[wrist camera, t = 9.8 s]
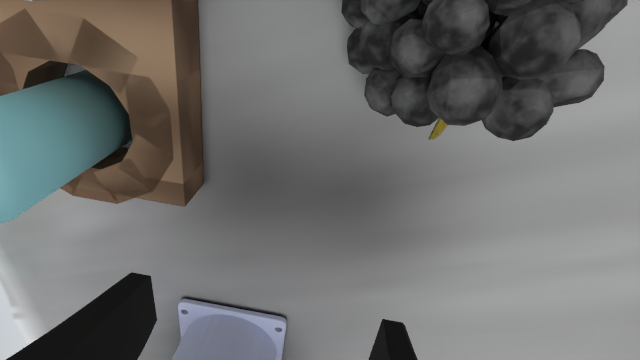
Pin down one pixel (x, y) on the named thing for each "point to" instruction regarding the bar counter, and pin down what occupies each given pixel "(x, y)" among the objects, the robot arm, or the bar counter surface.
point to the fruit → (477, 59)
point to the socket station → (120, 84)
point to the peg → (55, 137)
